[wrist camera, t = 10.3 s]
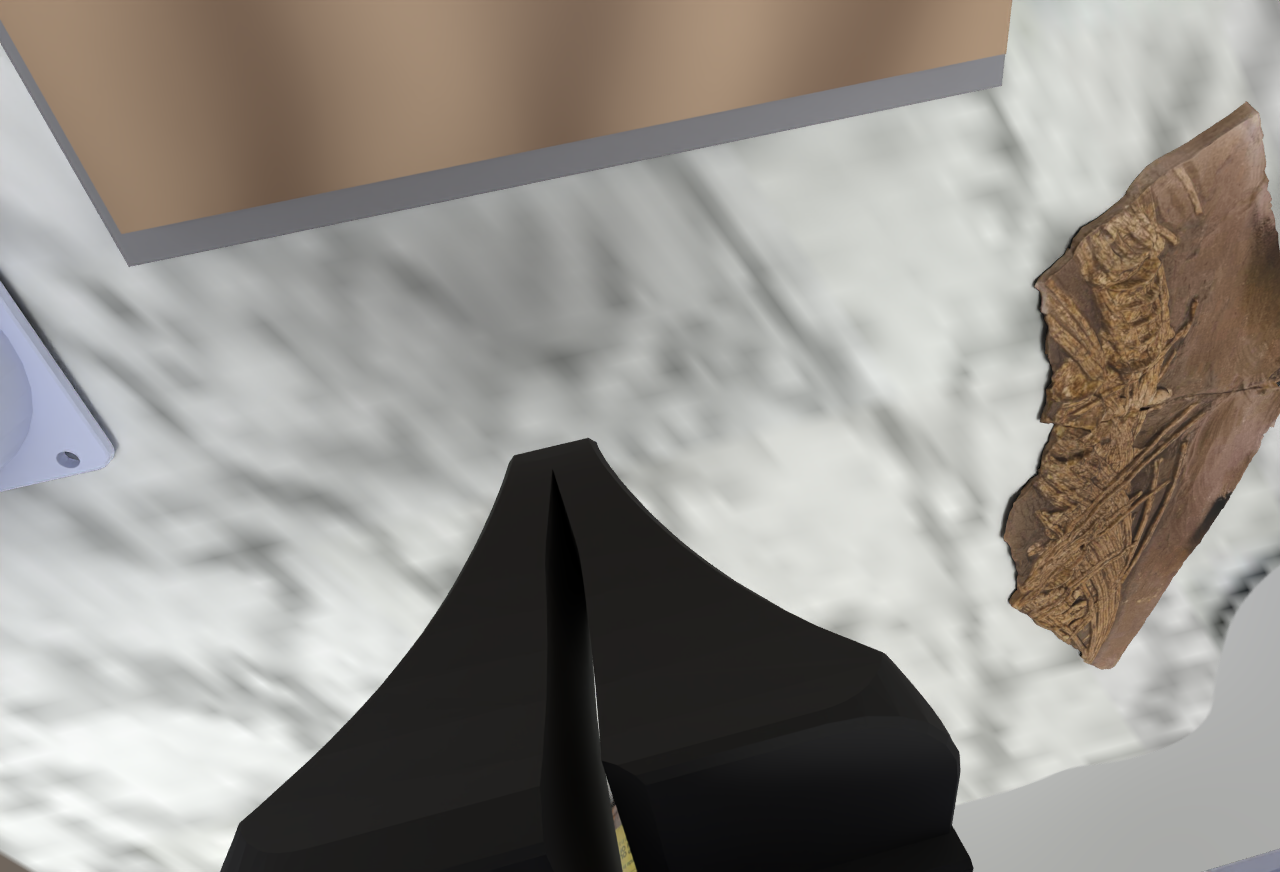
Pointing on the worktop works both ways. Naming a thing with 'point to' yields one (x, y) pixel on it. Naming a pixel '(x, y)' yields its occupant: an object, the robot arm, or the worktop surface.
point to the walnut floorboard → (429, 80)
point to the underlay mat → (515, 159)
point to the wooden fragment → (1150, 387)
